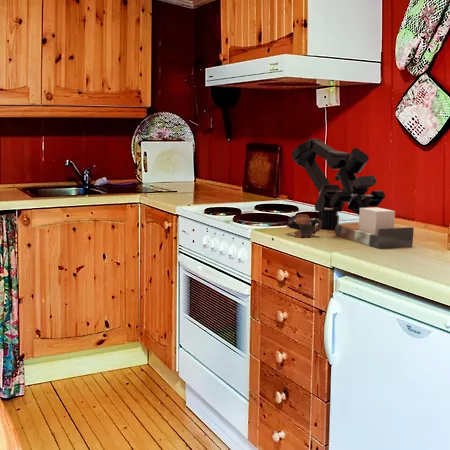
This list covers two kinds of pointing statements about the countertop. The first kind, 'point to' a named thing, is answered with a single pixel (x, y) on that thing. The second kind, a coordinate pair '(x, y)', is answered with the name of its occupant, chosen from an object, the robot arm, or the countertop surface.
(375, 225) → the block
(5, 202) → the countertop surface
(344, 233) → the box
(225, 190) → the countertop surface
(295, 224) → the pottery mug
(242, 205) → the countertop surface
